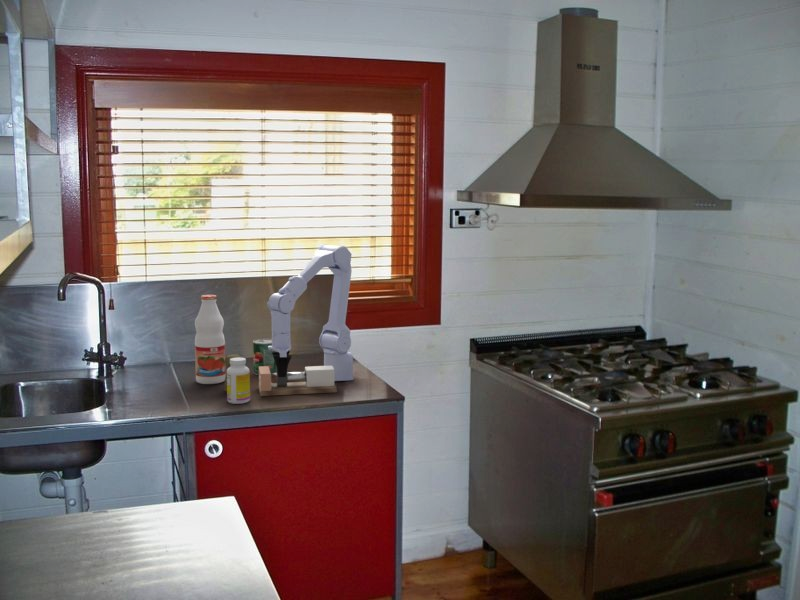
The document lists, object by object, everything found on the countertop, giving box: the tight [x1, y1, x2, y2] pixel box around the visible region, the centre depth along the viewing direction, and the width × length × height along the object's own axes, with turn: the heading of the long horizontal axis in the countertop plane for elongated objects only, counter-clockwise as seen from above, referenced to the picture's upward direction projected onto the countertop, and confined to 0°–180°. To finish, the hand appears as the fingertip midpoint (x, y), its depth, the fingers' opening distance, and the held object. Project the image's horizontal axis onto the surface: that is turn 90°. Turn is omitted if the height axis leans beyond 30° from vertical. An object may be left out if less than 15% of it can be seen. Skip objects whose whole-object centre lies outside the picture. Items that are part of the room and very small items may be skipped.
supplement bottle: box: [226, 357, 251, 405], centre depth 243 cm, size 7×7×13 cm
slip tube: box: [271, 366, 307, 386], centre depth 257 cm, size 14×4×6 cm, turn 103°
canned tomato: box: [252, 338, 276, 376], centre depth 278 cm, size 8×8×11 cm
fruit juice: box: [194, 294, 226, 385], centre depth 265 cm, size 9×9×28 cm
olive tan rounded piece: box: [223, 353, 242, 392], centre depth 257 cm, size 6×6×11 cm
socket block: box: [258, 366, 272, 391], centre depth 255 cm, size 3×10×5 cm, turn 13°
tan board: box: [257, 381, 338, 397], centre depth 258 cm, size 23×10×2 cm, turn 103°
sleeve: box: [304, 365, 335, 387], centre depth 259 cm, size 9×5×5 cm, turn 103°
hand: (281, 375), depth 256 cm, fingers closed on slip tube, 4 cm apart
